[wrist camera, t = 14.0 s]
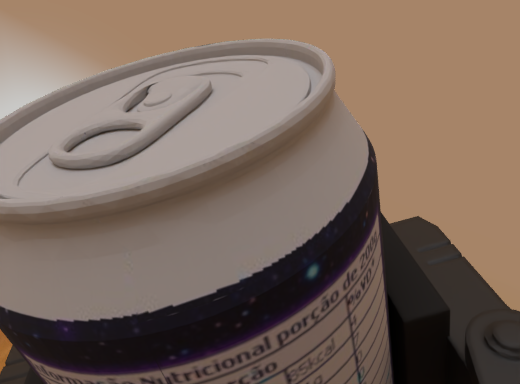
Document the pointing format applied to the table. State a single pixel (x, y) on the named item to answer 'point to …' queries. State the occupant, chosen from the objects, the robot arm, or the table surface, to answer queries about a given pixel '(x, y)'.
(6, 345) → the table surface
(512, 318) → the robot arm
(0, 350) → the table surface
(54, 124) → the beverage can
